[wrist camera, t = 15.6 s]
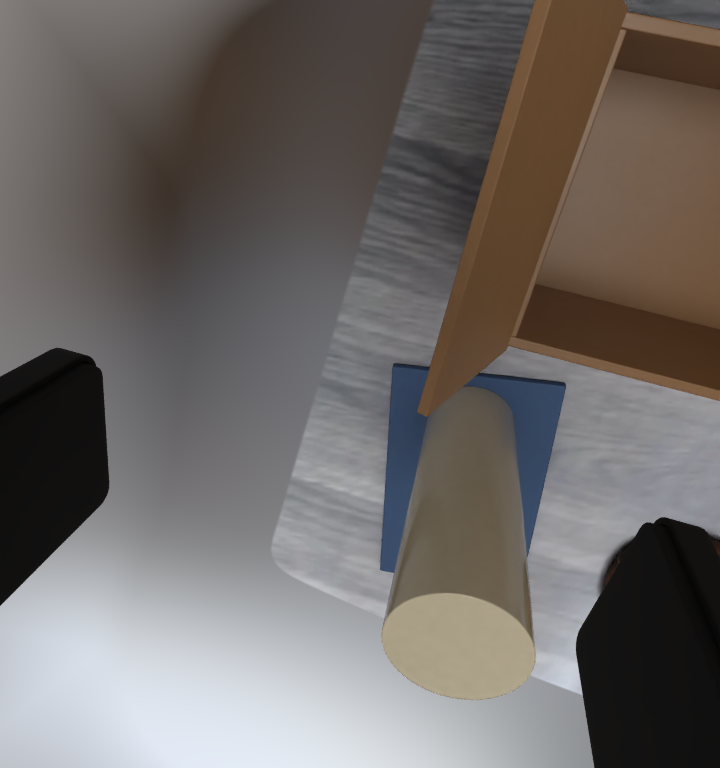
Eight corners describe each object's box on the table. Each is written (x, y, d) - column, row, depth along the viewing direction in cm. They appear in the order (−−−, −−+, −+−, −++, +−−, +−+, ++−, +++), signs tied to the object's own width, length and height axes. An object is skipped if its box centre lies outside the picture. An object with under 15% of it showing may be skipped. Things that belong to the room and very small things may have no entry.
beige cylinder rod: (409, 413, 40) (352, 622, 23) (482, 370, 37) (478, 572, 20) (458, 474, 41) (437, 714, 24) (532, 437, 38) (566, 678, 22)
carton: (498, 280, 35) (502, 344, 25) (573, 50, 29) (619, 9, 18) (767, 347, 33) (891, 446, 23) (908, 117, 27) (1162, 113, 17)
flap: (506, 350, 24) (497, 346, 24) (628, 8, 18) (616, 6, 18) (426, 418, 17) (416, 412, 17) (577, -89, 11) (559, -90, 11)
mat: (393, 362, 39) (392, 366, 38) (565, 382, 37) (566, 386, 36) (381, 565, 48) (380, 570, 47) (518, 590, 46) (518, 596, 45)
